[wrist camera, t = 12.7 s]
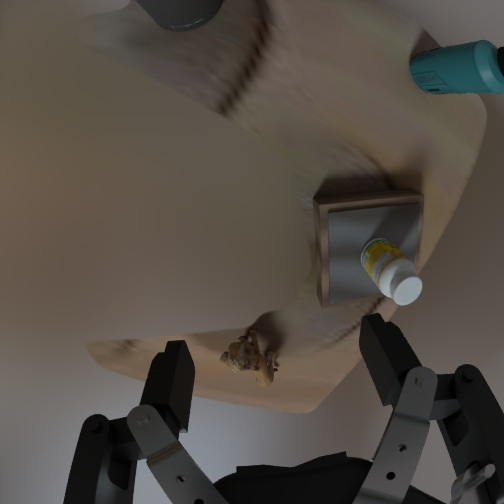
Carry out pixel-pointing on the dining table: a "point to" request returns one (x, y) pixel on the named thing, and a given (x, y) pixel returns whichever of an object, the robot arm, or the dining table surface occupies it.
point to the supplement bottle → (391, 271)
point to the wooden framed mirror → (361, 239)
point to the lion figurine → (250, 359)
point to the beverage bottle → (460, 69)
